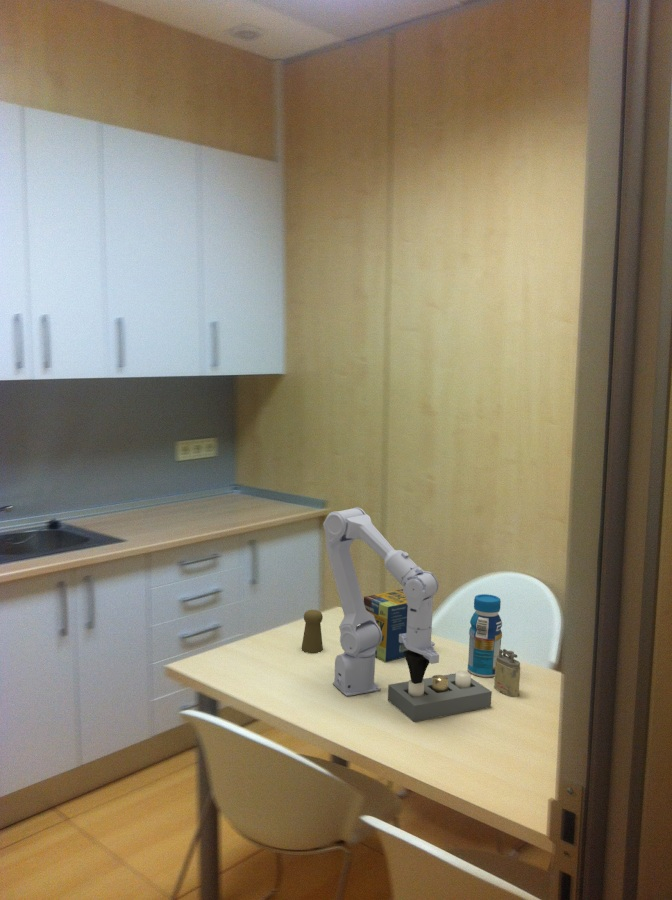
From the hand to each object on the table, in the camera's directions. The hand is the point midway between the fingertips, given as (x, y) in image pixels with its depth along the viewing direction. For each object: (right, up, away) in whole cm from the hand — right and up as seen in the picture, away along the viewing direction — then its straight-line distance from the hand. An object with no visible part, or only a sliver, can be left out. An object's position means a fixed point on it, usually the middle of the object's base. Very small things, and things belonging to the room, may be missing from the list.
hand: (416, 682), depth 175 cm
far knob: (+12, -4, +6) cm, 14 cm away
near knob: (0, -4, +1) cm, 4 cm away
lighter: (+23, -6, +12) cm, 27 cm away
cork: (-25, -2, +35) cm, 43 cm away
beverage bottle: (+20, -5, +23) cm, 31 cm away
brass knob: (+6, -4, +3) cm, 8 cm away
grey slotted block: (+6, -6, +3) cm, 9 cm away
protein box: (-3, -3, +36) cm, 36 cm away
